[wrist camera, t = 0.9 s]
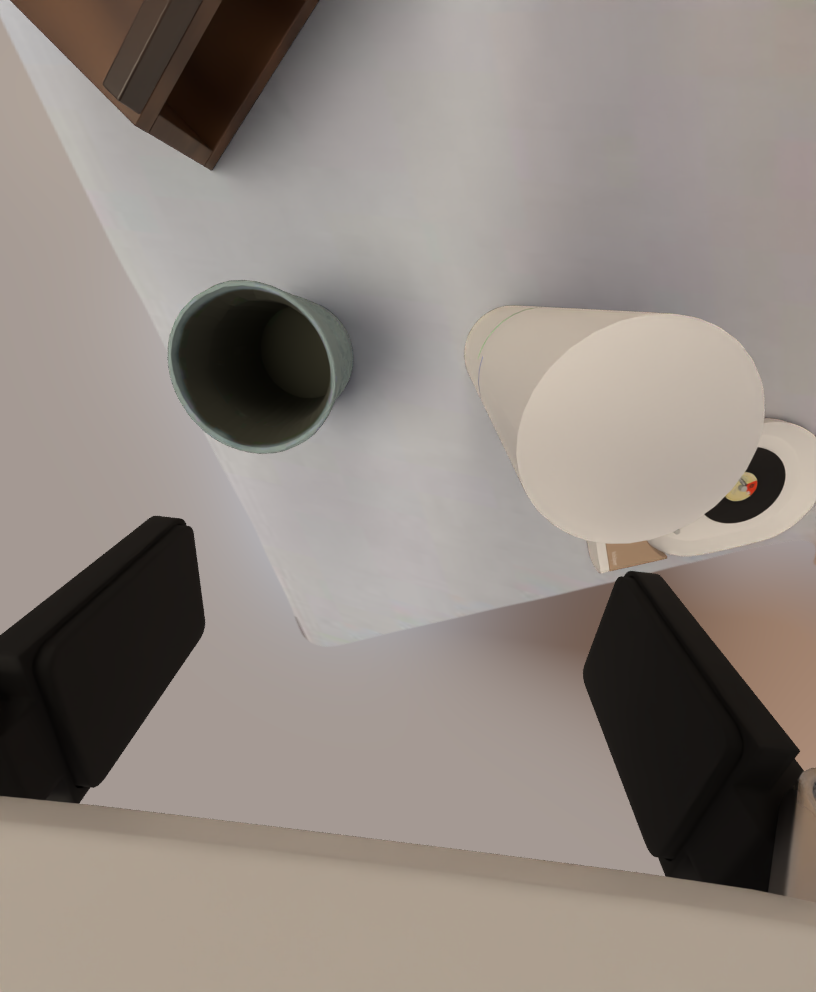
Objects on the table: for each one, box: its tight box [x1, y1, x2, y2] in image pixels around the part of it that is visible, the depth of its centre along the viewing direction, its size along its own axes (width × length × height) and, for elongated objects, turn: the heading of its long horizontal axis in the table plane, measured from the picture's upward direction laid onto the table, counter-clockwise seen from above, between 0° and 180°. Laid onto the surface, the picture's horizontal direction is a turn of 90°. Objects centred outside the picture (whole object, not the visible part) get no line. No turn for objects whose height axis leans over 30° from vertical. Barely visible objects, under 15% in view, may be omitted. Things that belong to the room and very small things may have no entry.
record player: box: [587, 418, 816, 573], centre depth 39 cm, size 12×3×20 cm
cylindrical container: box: [464, 305, 765, 544], centre depth 24 cm, size 7×7×25 cm
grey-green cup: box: [168, 280, 353, 454], centre depth 31 cm, size 10×10×12 cm
